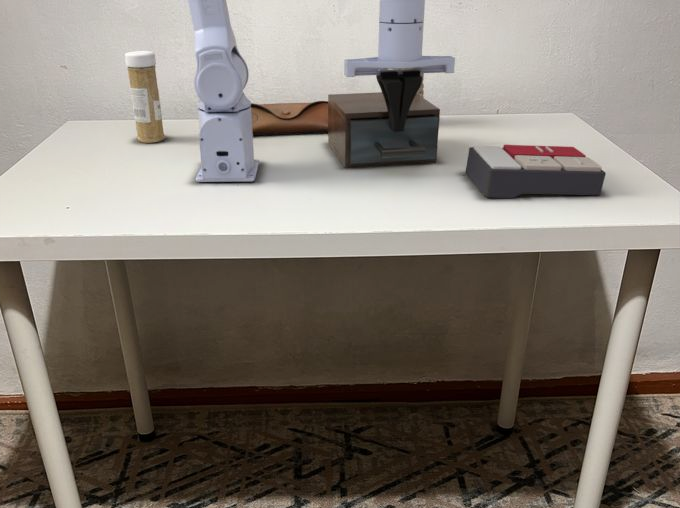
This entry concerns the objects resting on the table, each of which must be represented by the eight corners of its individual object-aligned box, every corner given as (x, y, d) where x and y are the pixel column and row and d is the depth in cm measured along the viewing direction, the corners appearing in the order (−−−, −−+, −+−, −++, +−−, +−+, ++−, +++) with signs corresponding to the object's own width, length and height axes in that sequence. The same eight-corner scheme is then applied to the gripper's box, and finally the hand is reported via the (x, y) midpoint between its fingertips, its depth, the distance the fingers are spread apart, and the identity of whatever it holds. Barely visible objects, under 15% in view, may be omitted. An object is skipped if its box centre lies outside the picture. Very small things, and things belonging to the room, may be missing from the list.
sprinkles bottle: (170, 140, 115) (160, 52, 108) (146, 145, 113) (134, 55, 106) (155, 135, 118) (144, 49, 111) (131, 140, 116) (118, 52, 109)
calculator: (608, 166, 87) (490, 163, 86) (600, 200, 90) (485, 197, 88) (576, 144, 97) (469, 141, 96) (569, 175, 99) (464, 172, 98)
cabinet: (436, 162, 103) (440, 109, 99) (345, 168, 101) (345, 113, 97) (410, 139, 114) (413, 90, 110) (328, 144, 112) (328, 94, 108)
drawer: (446, 169, 97) (450, 126, 94) (358, 174, 95) (359, 130, 92) (411, 137, 112) (413, 99, 109) (334, 141, 110) (334, 103, 107)
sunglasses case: (234, 135, 115) (231, 94, 115) (234, 148, 122) (231, 109, 122) (342, 130, 118) (339, 90, 118) (336, 143, 125) (332, 105, 125)
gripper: (446, 17, 94) (438, 121, 101) (340, 20, 93) (340, 126, 99) (463, 22, 88) (454, 132, 95) (350, 25, 87) (349, 137, 93)
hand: (396, 130), depth 97 cm, fingers closed, pressing on drawer
